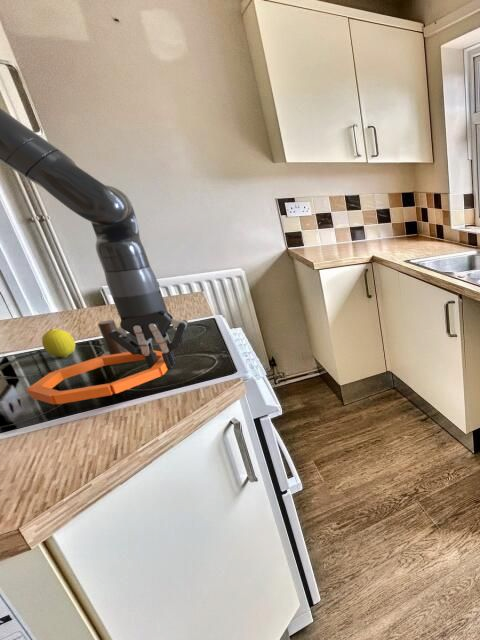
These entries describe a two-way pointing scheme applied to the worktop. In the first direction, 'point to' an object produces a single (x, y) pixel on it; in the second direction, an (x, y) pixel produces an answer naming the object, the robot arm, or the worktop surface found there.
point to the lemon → (58, 343)
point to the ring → (47, 394)
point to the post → (110, 343)
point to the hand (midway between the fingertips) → (164, 368)
